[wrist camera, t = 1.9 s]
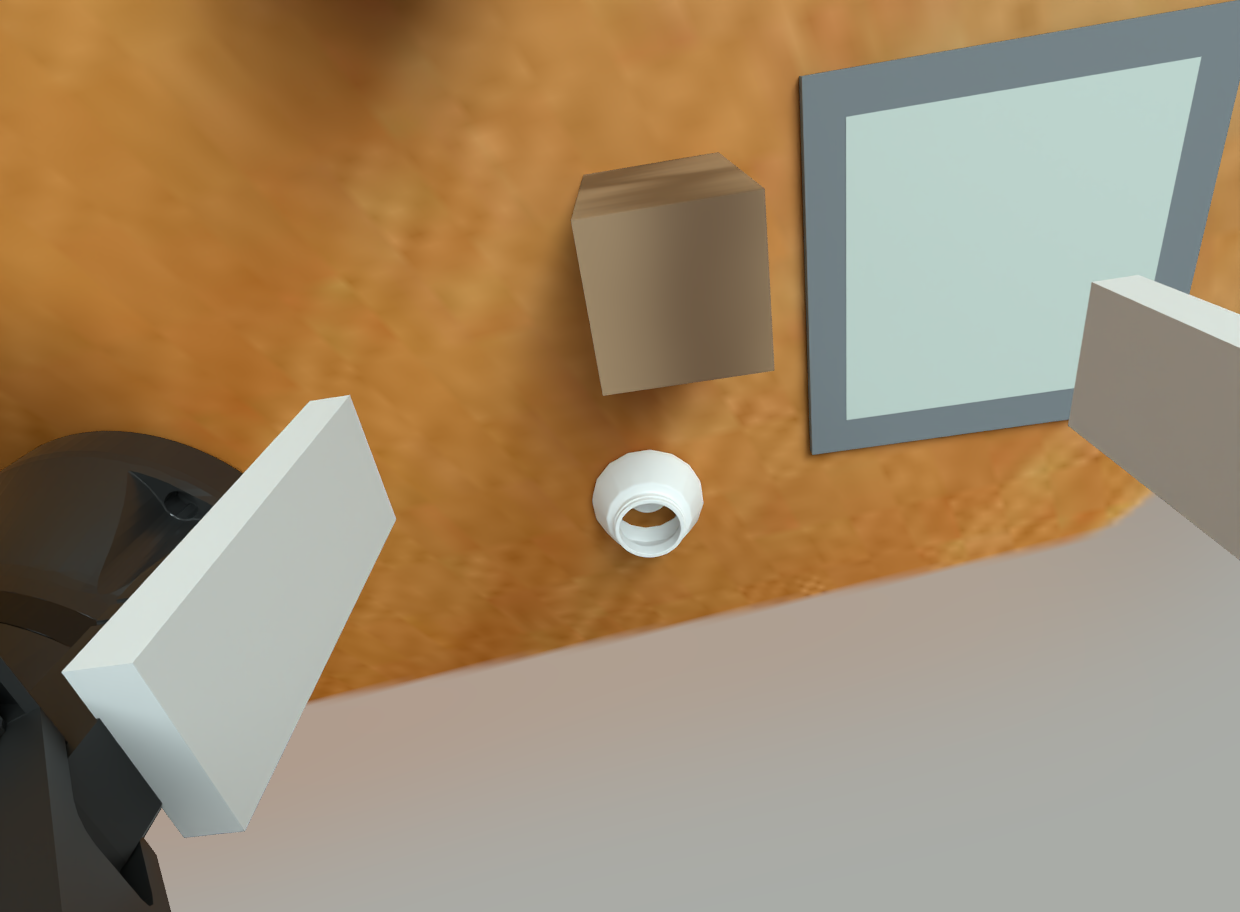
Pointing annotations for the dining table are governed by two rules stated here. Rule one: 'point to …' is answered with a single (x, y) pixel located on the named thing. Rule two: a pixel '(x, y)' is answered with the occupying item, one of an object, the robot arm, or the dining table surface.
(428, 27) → the dining table surface
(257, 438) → the dining table surface
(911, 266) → the coaster
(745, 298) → the block
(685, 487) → the lidless jar
